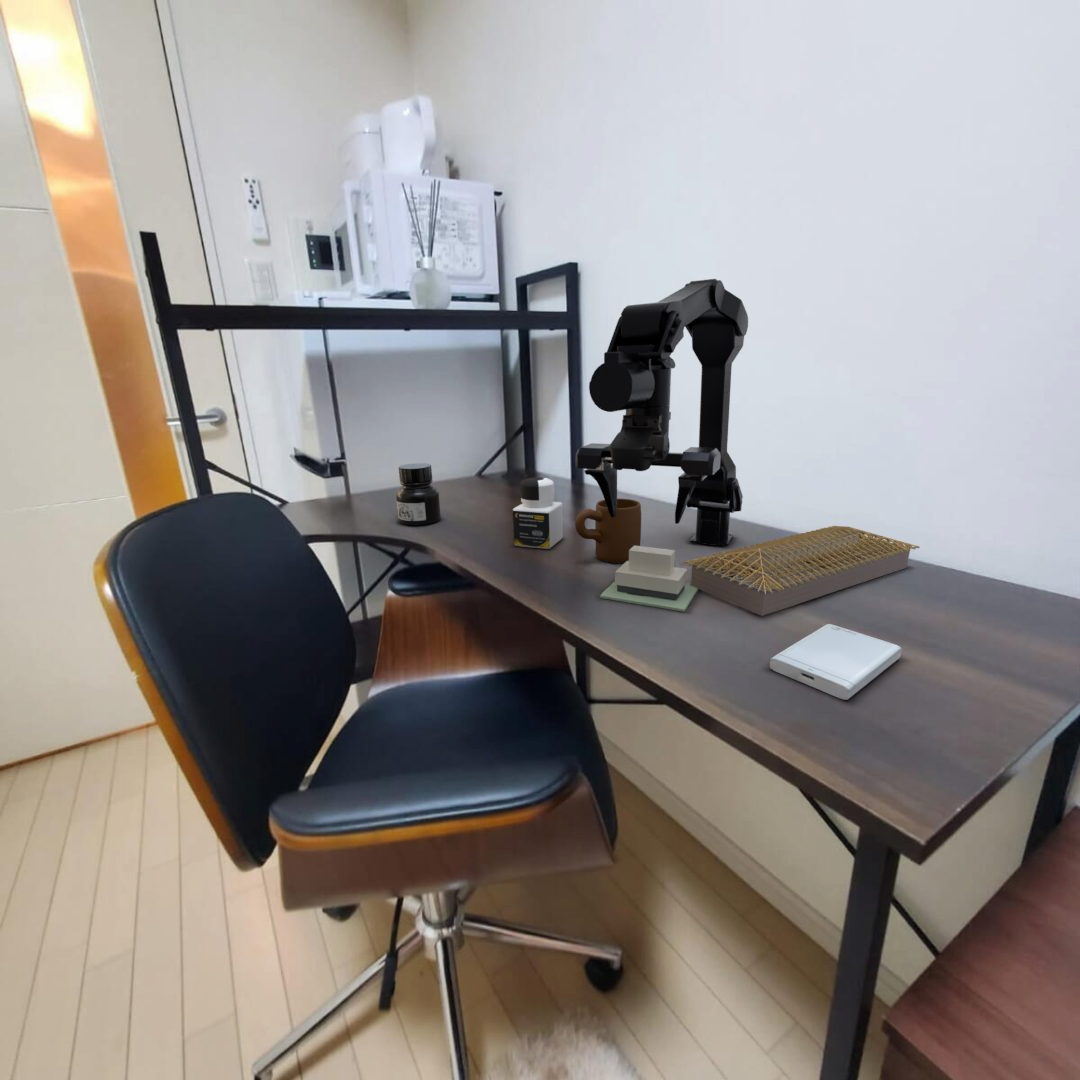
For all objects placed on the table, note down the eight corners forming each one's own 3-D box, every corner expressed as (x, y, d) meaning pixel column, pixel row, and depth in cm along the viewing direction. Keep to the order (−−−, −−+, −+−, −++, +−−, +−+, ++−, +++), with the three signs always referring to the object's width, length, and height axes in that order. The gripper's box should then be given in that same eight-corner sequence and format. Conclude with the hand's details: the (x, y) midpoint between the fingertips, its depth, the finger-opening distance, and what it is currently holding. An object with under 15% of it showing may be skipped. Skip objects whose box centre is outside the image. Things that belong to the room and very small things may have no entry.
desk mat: (621, 576, 89) (621, 573, 89) (699, 588, 84) (699, 585, 83) (599, 597, 81) (599, 594, 81) (684, 612, 76) (684, 608, 76)
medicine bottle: (513, 546, 105) (510, 482, 102) (528, 535, 111) (526, 474, 108) (549, 549, 103) (548, 484, 99) (563, 538, 109) (562, 476, 105)
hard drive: (827, 622, 68) (770, 655, 61) (902, 646, 62) (849, 686, 55) (825, 634, 69) (769, 669, 61) (900, 660, 63) (847, 702, 55)
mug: (588, 572, 91) (587, 515, 88) (564, 558, 98) (564, 505, 95) (649, 559, 96) (650, 504, 93) (623, 547, 103) (624, 496, 100)
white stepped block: (626, 579, 86) (627, 541, 85) (686, 588, 82) (688, 548, 81) (615, 591, 82) (615, 551, 80) (677, 601, 78) (679, 559, 76)
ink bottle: (389, 522, 124) (383, 467, 120) (422, 513, 130) (417, 461, 127) (417, 529, 118) (412, 471, 114) (450, 519, 124) (446, 465, 121)
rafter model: (830, 544, 101) (834, 511, 99) (915, 568, 89) (922, 530, 87) (681, 584, 84) (684, 544, 82) (763, 619, 72) (767, 574, 70)
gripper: (557, 410, 73) (559, 528, 77) (707, 411, 65) (700, 543, 69) (590, 403, 82) (590, 509, 87) (724, 404, 74) (717, 520, 79)
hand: (644, 519), depth 80 cm, fingers open, 9 cm apart
